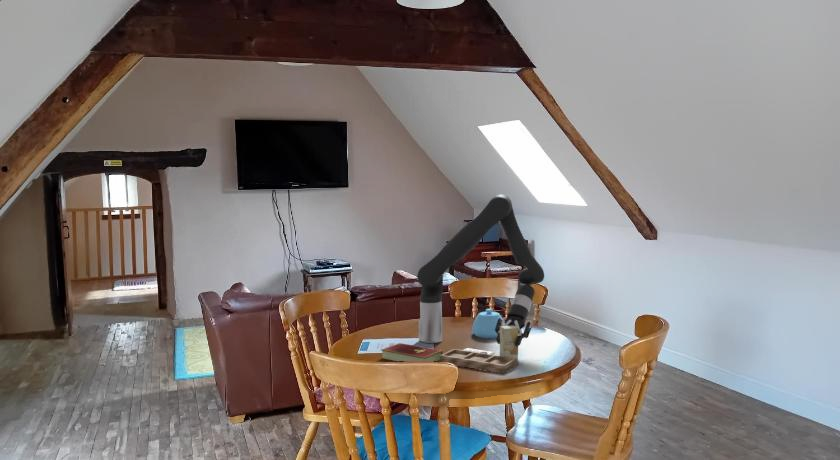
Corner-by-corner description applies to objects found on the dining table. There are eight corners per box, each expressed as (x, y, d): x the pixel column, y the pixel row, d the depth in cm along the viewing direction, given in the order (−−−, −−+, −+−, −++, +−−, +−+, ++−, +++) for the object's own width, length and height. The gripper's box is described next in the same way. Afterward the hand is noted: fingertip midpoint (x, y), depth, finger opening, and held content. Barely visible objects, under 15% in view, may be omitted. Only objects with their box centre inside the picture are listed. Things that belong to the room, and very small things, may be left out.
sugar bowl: (508, 339, 275) (508, 312, 274) (473, 339, 275) (473, 313, 274) (504, 330, 290) (504, 305, 289) (471, 331, 290) (470, 306, 289)
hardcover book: (400, 352, 259) (399, 342, 259) (442, 360, 247) (442, 349, 247) (381, 359, 250) (381, 348, 249) (424, 368, 237) (424, 356, 237)
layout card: (458, 353, 254) (458, 351, 254) (467, 349, 260) (467, 347, 260) (485, 357, 247) (485, 355, 247) (493, 353, 253) (493, 351, 253)
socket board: (438, 363, 242) (438, 356, 241) (455, 354, 252) (455, 348, 252) (503, 374, 227) (503, 366, 226) (518, 364, 238) (518, 357, 237)
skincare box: (503, 360, 244) (503, 328, 243) (499, 357, 248) (498, 326, 247) (519, 358, 246) (518, 327, 244) (514, 355, 250) (514, 324, 249)
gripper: (500, 301, 255) (487, 336, 246) (534, 305, 247) (521, 341, 239) (506, 312, 260) (493, 347, 251) (539, 315, 252) (527, 352, 243)
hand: (507, 344), depth 245 cm, fingers closed on skincare box, 7 cm apart
